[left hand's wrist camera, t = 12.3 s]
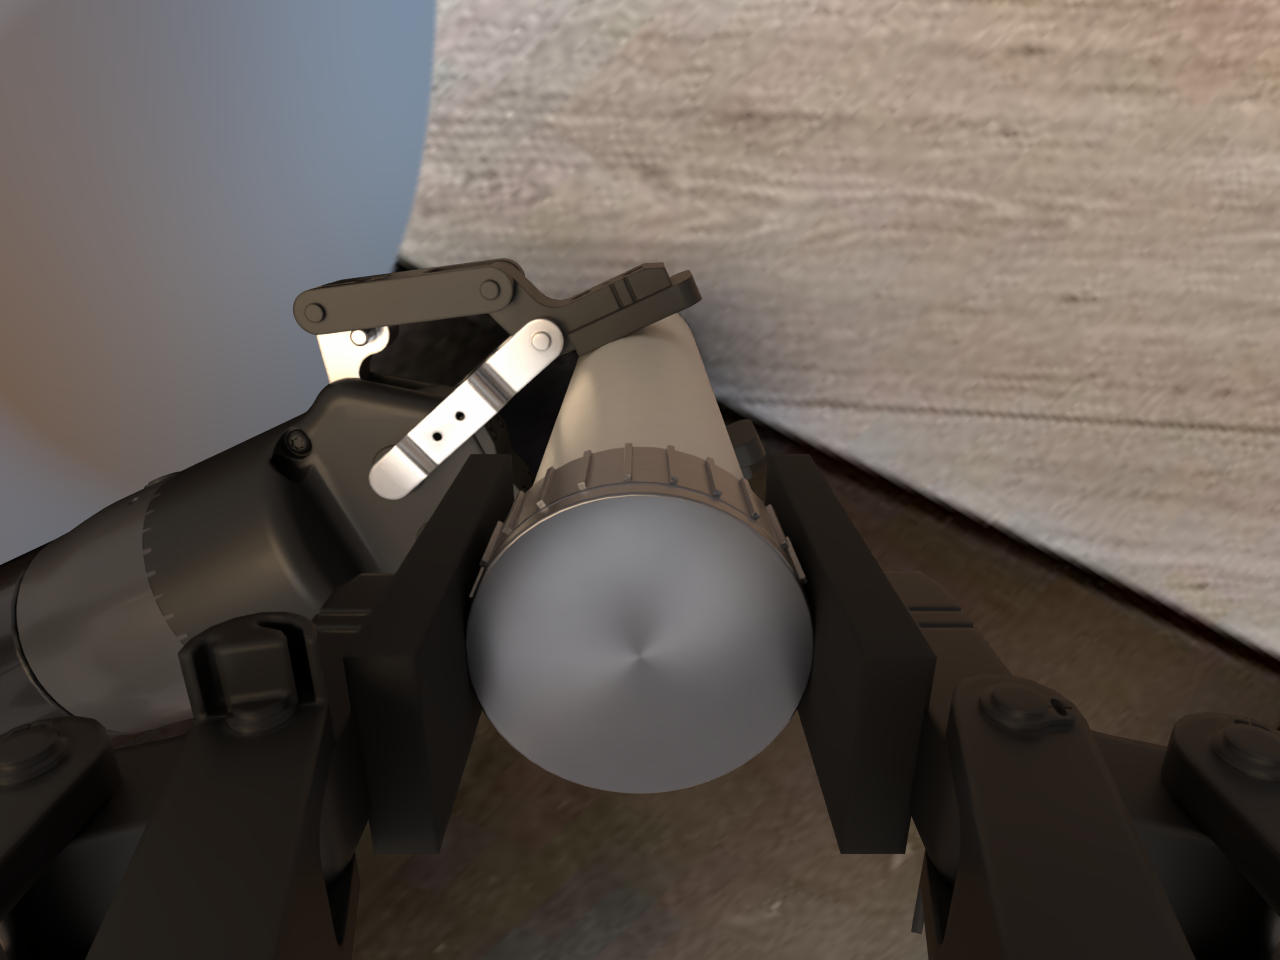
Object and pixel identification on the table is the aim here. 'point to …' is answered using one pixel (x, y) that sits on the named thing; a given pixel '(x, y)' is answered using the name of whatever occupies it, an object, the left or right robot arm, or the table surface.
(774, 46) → the table surface
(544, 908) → the table surface
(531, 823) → the table surface
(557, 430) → the beige cylindrical rod
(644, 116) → the table surface
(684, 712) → the lid
